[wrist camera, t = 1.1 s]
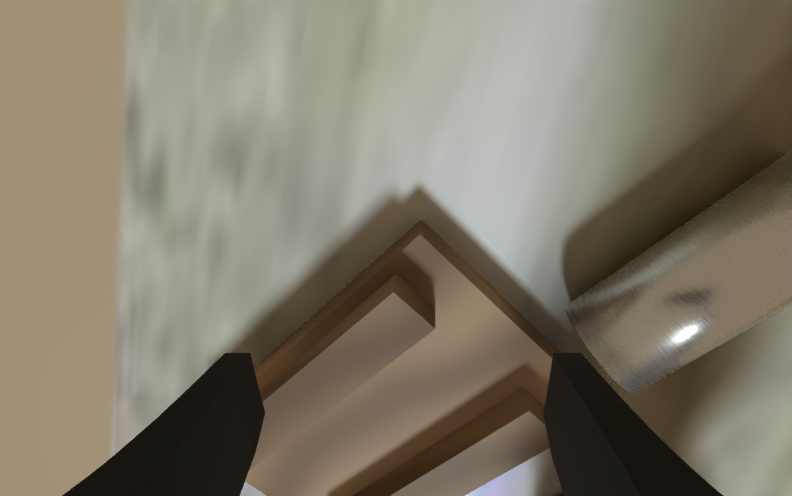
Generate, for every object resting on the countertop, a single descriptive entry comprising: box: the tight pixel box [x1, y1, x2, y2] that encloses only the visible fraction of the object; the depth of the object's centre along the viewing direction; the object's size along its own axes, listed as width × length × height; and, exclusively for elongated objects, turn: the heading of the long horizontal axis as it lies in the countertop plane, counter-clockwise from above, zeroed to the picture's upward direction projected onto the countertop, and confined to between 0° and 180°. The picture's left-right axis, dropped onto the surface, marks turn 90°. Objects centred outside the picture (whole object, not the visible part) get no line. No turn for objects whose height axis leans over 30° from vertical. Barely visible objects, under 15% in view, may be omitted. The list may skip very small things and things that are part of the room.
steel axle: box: [565, 150, 792, 395], centre depth 18 cm, size 4×10×4 cm, turn 135°
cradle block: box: [245, 221, 560, 496], centre depth 24 cm, size 12×18×3 cm, turn 136°
